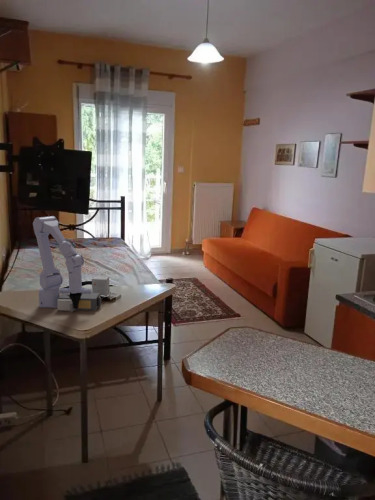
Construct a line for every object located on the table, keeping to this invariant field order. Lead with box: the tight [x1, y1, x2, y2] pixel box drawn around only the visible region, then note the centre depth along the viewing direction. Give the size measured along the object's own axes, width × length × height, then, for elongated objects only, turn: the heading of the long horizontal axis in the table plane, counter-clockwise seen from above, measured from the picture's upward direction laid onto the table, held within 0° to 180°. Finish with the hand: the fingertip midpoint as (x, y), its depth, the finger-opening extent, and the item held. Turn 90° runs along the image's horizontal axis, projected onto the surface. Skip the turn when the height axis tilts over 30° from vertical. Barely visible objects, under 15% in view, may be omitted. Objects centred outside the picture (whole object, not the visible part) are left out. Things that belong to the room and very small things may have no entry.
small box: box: [91, 275, 111, 296], centre depth 215 cm, size 8×6×10 cm
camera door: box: [57, 299, 76, 313], centre depth 192 cm, size 8×4×5 cm, turn 90°
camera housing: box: [58, 293, 102, 312], centre depth 199 cm, size 19×9×7 cm, turn 90°
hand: (76, 308), depth 191 cm, fingers closed
